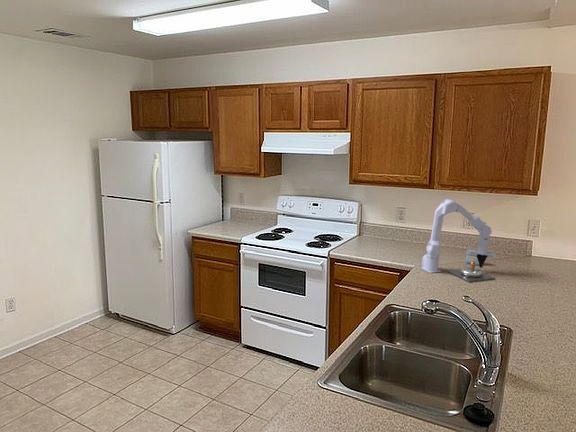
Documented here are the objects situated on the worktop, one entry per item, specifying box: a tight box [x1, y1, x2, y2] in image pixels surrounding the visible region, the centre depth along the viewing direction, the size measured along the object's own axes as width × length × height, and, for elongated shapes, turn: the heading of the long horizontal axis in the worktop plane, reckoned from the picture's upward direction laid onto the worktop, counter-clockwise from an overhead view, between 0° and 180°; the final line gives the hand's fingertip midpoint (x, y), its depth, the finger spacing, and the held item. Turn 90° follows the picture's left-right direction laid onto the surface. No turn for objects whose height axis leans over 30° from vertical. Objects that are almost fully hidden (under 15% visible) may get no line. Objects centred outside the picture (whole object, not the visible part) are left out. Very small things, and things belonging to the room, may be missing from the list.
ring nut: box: [460, 261, 482, 277], centre depth 258 cm, size 18×11×4 cm, turn 154°
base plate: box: [447, 269, 496, 284], centre depth 255 cm, size 18×18×1 cm
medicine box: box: [465, 249, 479, 266], centre depth 278 cm, size 8×4×9 cm, turn 62°
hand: (481, 267), depth 261 cm, fingers closed
